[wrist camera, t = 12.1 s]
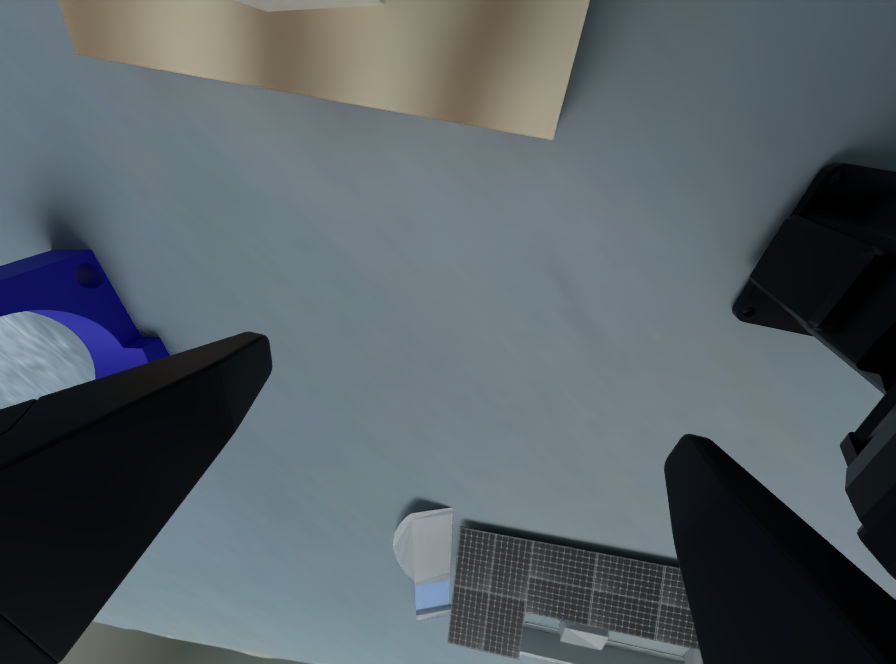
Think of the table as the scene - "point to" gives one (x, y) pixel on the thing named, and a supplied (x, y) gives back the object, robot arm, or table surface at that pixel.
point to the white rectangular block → (306, 4)
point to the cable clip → (78, 306)
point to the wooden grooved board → (358, 52)
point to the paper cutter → (543, 595)
